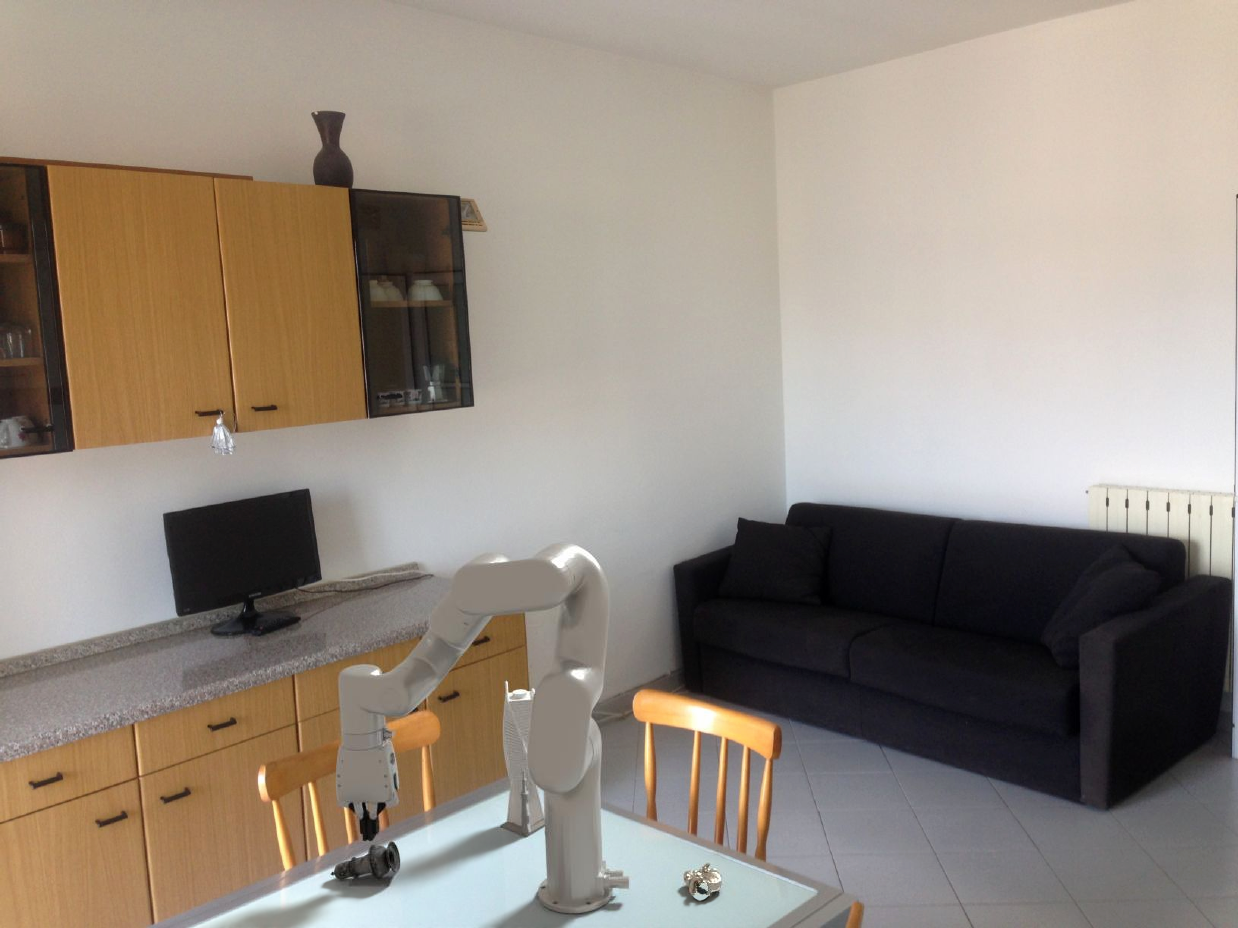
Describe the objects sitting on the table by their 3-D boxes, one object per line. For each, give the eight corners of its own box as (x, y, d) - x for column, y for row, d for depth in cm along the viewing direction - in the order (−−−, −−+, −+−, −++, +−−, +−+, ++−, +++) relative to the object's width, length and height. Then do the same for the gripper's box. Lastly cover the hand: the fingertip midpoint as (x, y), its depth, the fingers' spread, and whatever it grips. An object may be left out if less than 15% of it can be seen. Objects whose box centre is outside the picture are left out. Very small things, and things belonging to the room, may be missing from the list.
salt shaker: (396, 881, 179) (331, 898, 180) (403, 860, 185) (341, 877, 186) (384, 852, 178) (319, 870, 179) (392, 832, 184) (329, 849, 185)
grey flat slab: (396, 871, 185) (396, 869, 184) (388, 886, 180) (388, 884, 180) (358, 871, 185) (358, 869, 185) (348, 885, 180) (348, 884, 180)
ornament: (692, 874, 181) (692, 855, 180) (729, 883, 178) (729, 863, 177) (674, 897, 174) (673, 876, 173) (712, 906, 171) (712, 885, 170)
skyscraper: (494, 825, 201) (488, 686, 198) (522, 809, 208) (517, 674, 204) (526, 836, 196) (520, 694, 193) (554, 820, 202) (549, 682, 199)
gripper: (412, 728, 182) (417, 827, 185) (329, 728, 184) (335, 827, 186) (400, 745, 175) (405, 848, 177) (314, 745, 176) (320, 847, 178)
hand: (370, 837), depth 181 cm, fingers closed
